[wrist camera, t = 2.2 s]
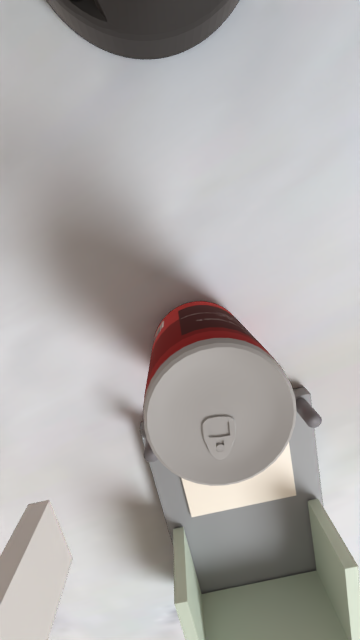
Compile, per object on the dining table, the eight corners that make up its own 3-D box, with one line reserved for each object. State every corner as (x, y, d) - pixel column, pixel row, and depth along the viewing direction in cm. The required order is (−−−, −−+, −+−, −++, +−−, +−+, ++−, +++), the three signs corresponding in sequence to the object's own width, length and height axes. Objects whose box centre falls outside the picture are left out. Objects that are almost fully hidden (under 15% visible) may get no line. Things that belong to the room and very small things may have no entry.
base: (140, 422, 26) (136, 449, 23) (304, 386, 26) (325, 409, 23) (190, 595, 32) (193, 639, 28) (325, 567, 32) (345, 608, 28)
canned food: (173, 399, 26) (176, 506, 15) (138, 318, 24) (114, 376, 13) (254, 370, 26) (316, 459, 15) (225, 285, 24) (273, 317, 13)
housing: (173, 528, 28) (174, 603, 22) (317, 498, 28) (358, 566, 22) (194, 603, 30) (200, 688, 24) (327, 575, 30) (365, 654, 24)
